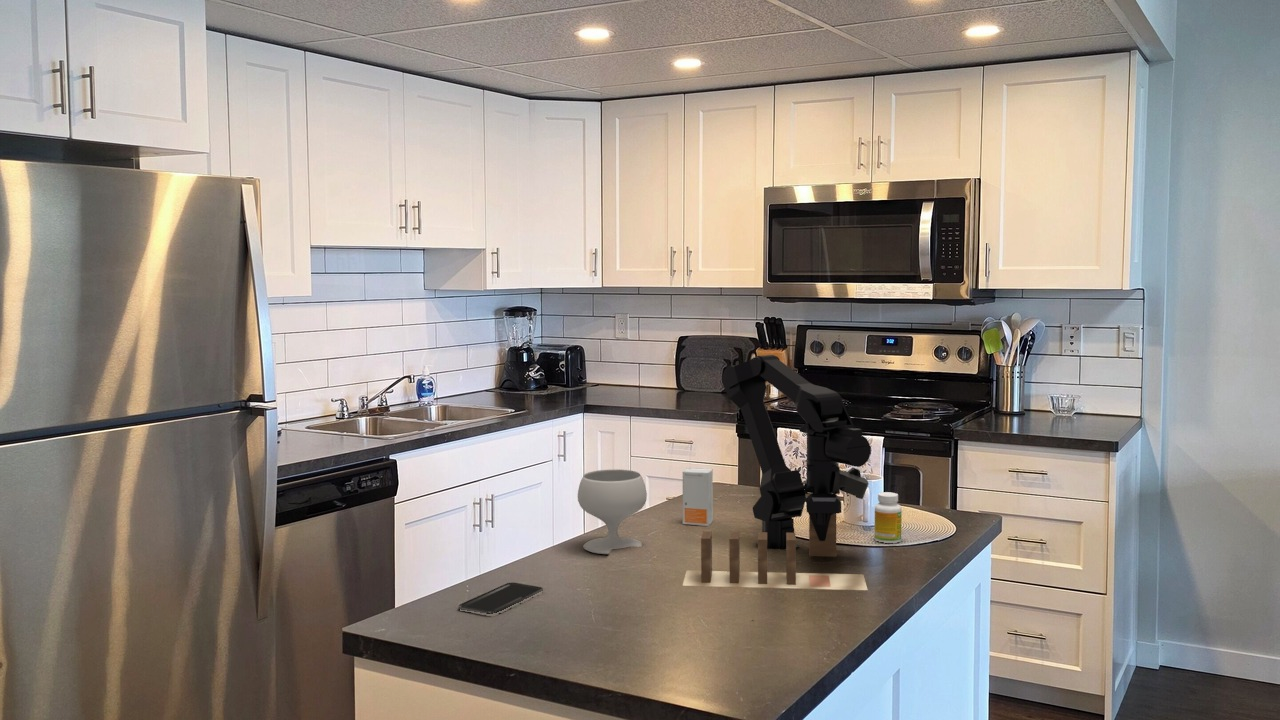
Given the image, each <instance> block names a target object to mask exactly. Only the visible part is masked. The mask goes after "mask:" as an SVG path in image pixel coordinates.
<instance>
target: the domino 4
mask: <svg viewBox="0 0 1280 720" xmlns="http://www.w3.org/2000/svg"><path fill="white" fill-rule="evenodd" d="M796 544H797V538H796V532H794V533H786V549H785V550H786V554H785V555H786V556H785V557H786V561H785V564H786V569H785V573H786V580H787V585H796V573H797V563H796V561H797V549H796Z"/></svg>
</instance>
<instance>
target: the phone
mask: <svg viewBox="0 0 1280 720" xmlns="http://www.w3.org/2000/svg"><path fill="white" fill-rule="evenodd" d="M541 591H544V588H543V587H541V586H537V585H536V586H535V585H532V584H531V585H530V584H526V583H525V584H524V583H519V582H507V583H505V584H502V585H500V586H498V587H496V588H494V589H491V590H489V591H486V592H484V593H482V594H480V595H477V596H475V597H474V598H471V599H469V600H467V601H465V602H463V603H460V604H458V610H459V609H461V610H467V611H474V612H480V613H486V614H493V613H497V612H499V611H502V610H504V609H506V608H508V607H510V606H512V605H514V604H516V603H519V602H521V601H523V600H524V599H527V598H529V597H531V596H533V595H535V594H537V593H539V592H541Z"/></svg>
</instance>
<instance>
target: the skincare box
mask: <svg viewBox="0 0 1280 720" xmlns="http://www.w3.org/2000/svg"><path fill="white" fill-rule="evenodd" d="M713 471H714V470H713V469H712V468H692V467H686V468H685V469H684V470H683V471H682V525H692V526H700V527H701V526H704V527H709V526H710V525H711V524H712V523H713V520H714V517H713V516H714V515H713V514H714V513H713V509H714V508H713V507H714V504H713V503H714V502H713V501H714V499H713V488H714V487H713V484H714V483H713V479H714V478H713V475H714V472H713Z"/></svg>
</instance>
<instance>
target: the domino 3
mask: <svg viewBox="0 0 1280 720" xmlns="http://www.w3.org/2000/svg"><path fill="white" fill-rule="evenodd" d="M757 543H758V546H757V572H758V584H767V572H768V549H767V532H762V531H759V532H758V533H757Z"/></svg>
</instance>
